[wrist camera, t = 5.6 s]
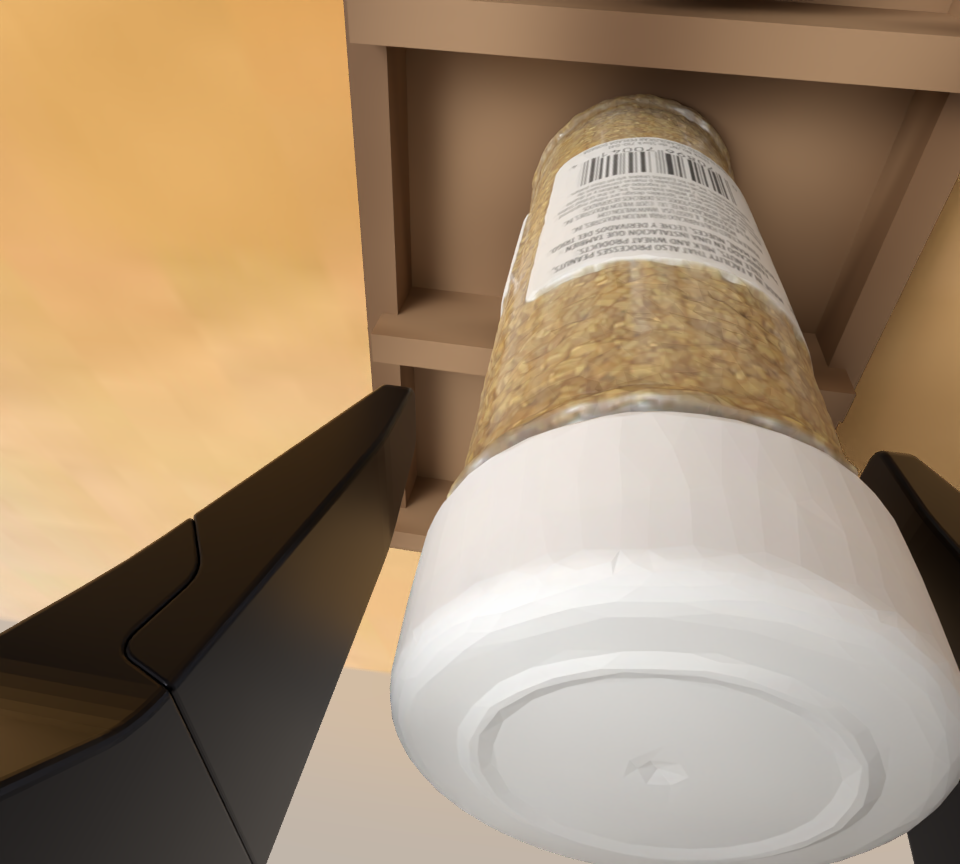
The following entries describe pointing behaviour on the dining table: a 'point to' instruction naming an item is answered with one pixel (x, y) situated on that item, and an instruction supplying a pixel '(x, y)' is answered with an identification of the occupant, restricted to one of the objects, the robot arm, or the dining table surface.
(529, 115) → the rack
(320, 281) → the dining table surface
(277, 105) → the dining table surface
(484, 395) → the sprinkles bottle
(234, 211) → the dining table surface
